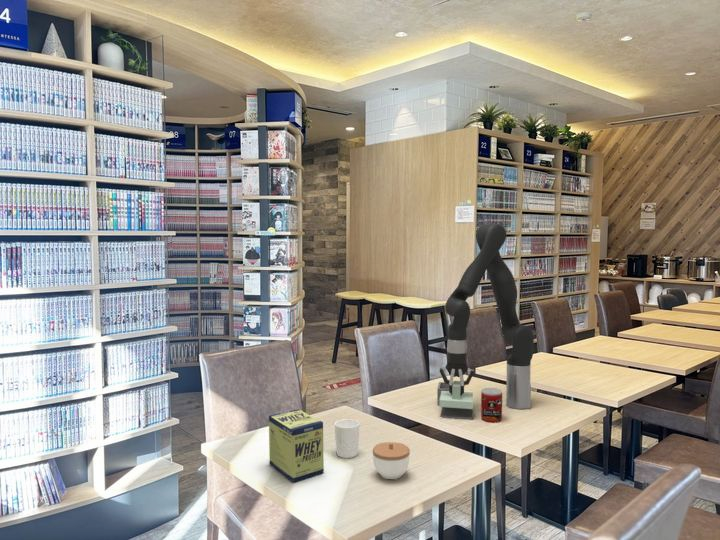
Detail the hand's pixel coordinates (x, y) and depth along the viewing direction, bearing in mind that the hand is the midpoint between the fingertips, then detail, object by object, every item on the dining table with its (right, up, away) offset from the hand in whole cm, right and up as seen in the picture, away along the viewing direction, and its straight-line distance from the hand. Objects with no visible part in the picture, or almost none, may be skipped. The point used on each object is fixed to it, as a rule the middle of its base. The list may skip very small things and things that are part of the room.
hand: (456, 394), depth 206 cm
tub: (0, -7, +14) cm, 15 cm away
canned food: (+12, -8, -6) cm, 16 cm away
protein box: (-57, -12, -47) cm, 74 cm away
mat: (0, -8, +1) cm, 8 cm away
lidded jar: (-28, -12, -51) cm, 60 cm away
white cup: (-42, -11, -36) cm, 56 cm away
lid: (0, -3, 0) cm, 3 cm away
